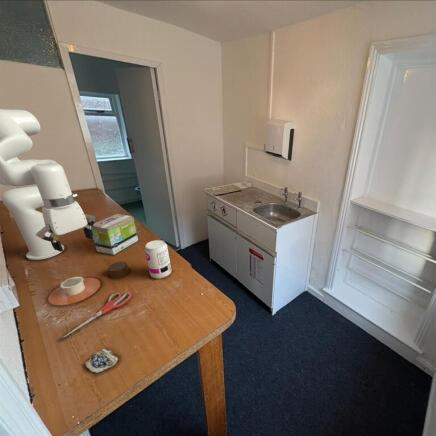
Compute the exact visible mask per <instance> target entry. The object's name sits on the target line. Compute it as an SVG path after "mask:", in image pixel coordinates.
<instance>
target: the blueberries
mask: <svg viewBox="0 0 436 436" xmlns="http://www.w3.org/2000/svg"><path fill="white" fill-rule="evenodd" d="M118 359H119V358H118V357H117V356H115V355H113V352H112V350H110V349H109V348H102V349H100V350H99V351H95V352H94V353H92V355H90V357H89V360H87V361H85V362H84V365H85V366H86V368H87V369H89V371H91V372H92V373H96V374H99V373H100V372H103V371H104V370H107V369H110V368H112V367H114V366H115V365H116V364H117V362H118Z"/></svg>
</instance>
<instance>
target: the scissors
mask: <svg viewBox="0 0 436 436" xmlns="http://www.w3.org/2000/svg"><path fill="white" fill-rule="evenodd" d="M116 296H117V297H116ZM132 296H133V295H132V293H131V292H129V291H128V292H125V293H124V294H122V292H115V293H112V294H111V295H110V296H109V297H108V298H107V301H106V304H104V305H103V306H102V307H101V308H100V309H99V310H98V311H97V312H96V313H95V314H93V315H91V317H89V318H88V319H86V320H85V321H84V322H82V323H81V324H79V325H78V326H76V327H75V328H73V329H72V330H70V331H69V332H68V333H66V334H64V336H63V338H65V337H67V336H68V335H70V334H72V333H74V332H76V331H78V330H79V329H80V328H82V327H83V326H85V325H87V324H88V323H90V322H92V321H94V320H96V319H97V318H99V317H100V316H102V315H105V314H107V313H108V312H110V311H112V310H117V309H119V308H121V307H122V306H124V305H125V304H127V303H128V302H129V301H130V300H131V298H132ZM114 297H116V298H114ZM113 298H114V299H113ZM112 299H113V300H112Z"/></svg>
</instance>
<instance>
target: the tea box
mask: <svg viewBox="0 0 436 436" xmlns="http://www.w3.org/2000/svg"><path fill="white" fill-rule="evenodd" d="M91 230H92V233H93V239H92V240H93V242H94V245H95V249H96V252H98V253H101V254H107V255H113V256H115V255H116V254H118V253H119V252H121V251H123V250H125V249H126V248H128V247H129V246H131V245H133V244H135V243H137V242H139V237H138V233H137V228H136V223H135V219H134V216H132V215H126V214H122V213H121V214H120V213H116V214H113V215H111V216H108V217H106V218H104V219H101V220H98V221H96V222H95V223H94V225H93V226H92V229H91Z"/></svg>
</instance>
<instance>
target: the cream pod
mask: <svg viewBox="0 0 436 436" xmlns="http://www.w3.org/2000/svg"><path fill="white" fill-rule="evenodd" d="M83 278H84V277H82V276H73V277H70V278H67V279H65V280H64V281H62V282H61V284H60V286H61V288H63V289H64V291H65V293H66V295H69V296H71V295H76V294H78V293H80V292H82V291H83V290H84V289H85V286H84V283H83Z"/></svg>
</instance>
